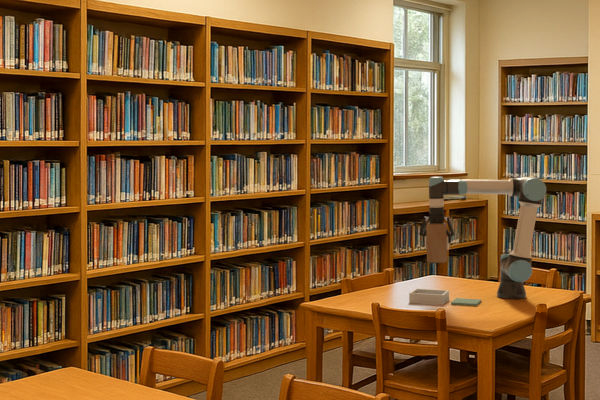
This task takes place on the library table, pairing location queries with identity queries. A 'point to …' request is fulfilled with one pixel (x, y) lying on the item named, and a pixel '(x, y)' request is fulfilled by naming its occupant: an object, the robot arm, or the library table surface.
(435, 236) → the block
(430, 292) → the bin
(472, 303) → the mat
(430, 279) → the library table surface
